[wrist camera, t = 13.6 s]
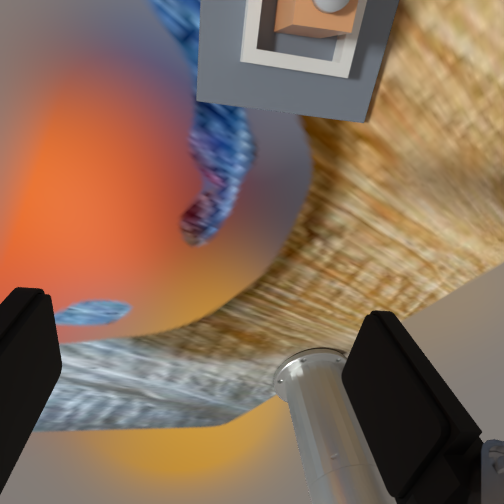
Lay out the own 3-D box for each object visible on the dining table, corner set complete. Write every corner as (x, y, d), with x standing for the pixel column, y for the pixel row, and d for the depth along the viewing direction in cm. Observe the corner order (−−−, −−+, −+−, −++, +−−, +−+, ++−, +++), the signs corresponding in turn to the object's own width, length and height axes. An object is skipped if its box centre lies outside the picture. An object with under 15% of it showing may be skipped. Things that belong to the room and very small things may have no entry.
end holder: (423, -106, 24) (449, -125, 21) (359, 121, 32) (372, 126, 29) (208, -164, 21) (208, -195, 19) (196, 99, 29) (195, 103, 27)
